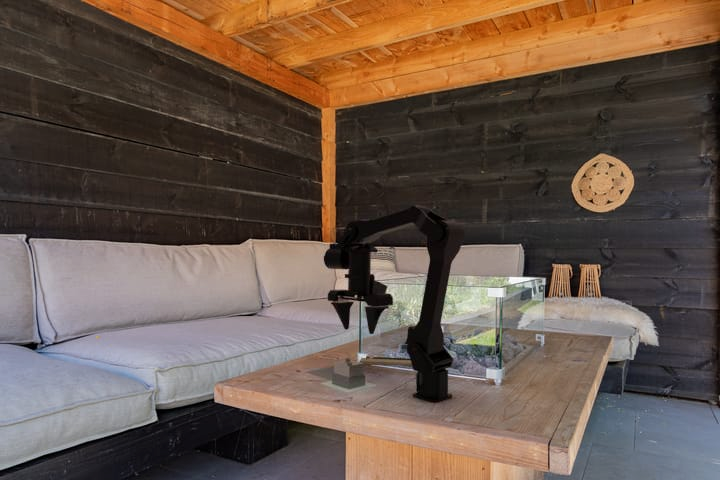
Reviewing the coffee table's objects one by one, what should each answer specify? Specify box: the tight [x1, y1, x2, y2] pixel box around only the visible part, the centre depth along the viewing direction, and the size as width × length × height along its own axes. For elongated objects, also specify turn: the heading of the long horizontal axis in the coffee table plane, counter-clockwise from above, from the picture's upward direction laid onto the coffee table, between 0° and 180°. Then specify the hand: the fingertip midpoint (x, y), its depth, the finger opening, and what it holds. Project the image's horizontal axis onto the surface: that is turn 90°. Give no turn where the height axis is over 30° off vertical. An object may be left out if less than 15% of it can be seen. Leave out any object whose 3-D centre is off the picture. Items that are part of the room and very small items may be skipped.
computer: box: [359, 356, 413, 369], centre depth 134 cm, size 16×8×3 cm, turn 84°
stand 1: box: [306, 366, 334, 381], centre depth 121 cm, size 10×9×2 cm
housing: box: [331, 357, 366, 389], centre depth 111 cm, size 5×6×6 cm
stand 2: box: [319, 380, 378, 394], centre depth 111 cm, size 10×9×2 cm
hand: (358, 331), depth 121 cm, fingers open, 9 cm apart
